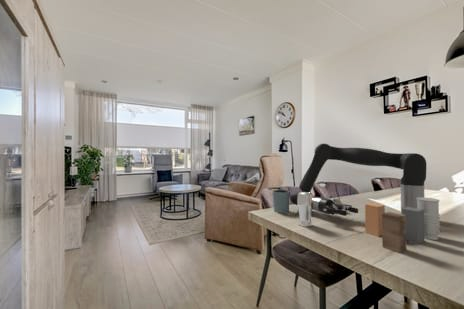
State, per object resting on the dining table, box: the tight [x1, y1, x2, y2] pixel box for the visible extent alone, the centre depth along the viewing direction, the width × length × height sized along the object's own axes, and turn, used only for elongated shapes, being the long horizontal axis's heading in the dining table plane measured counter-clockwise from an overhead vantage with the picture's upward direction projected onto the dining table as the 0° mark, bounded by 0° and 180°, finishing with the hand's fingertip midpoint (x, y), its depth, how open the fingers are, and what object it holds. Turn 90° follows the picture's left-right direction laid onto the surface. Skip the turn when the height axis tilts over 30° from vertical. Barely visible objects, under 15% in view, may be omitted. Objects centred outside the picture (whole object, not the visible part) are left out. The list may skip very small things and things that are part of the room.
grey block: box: [402, 207, 425, 245], centre depth 81 cm, size 5×5×12 cm
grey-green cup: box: [272, 189, 291, 214], centre depth 124 cm, size 10×10×12 cm
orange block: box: [364, 202, 386, 238], centre depth 88 cm, size 5×5×12 cm
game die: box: [329, 196, 342, 204], centre depth 123 cm, size 9×8×10 cm
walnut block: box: [381, 211, 407, 254], centre depth 74 cm, size 5×5×12 cm
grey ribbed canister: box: [416, 197, 441, 241], centre depth 84 cm, size 7×7×15 cm
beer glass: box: [297, 191, 313, 228], centre depth 100 cm, size 7×7×15 cm
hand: (352, 212), depth 97 cm, fingers open, 8 cm apart
